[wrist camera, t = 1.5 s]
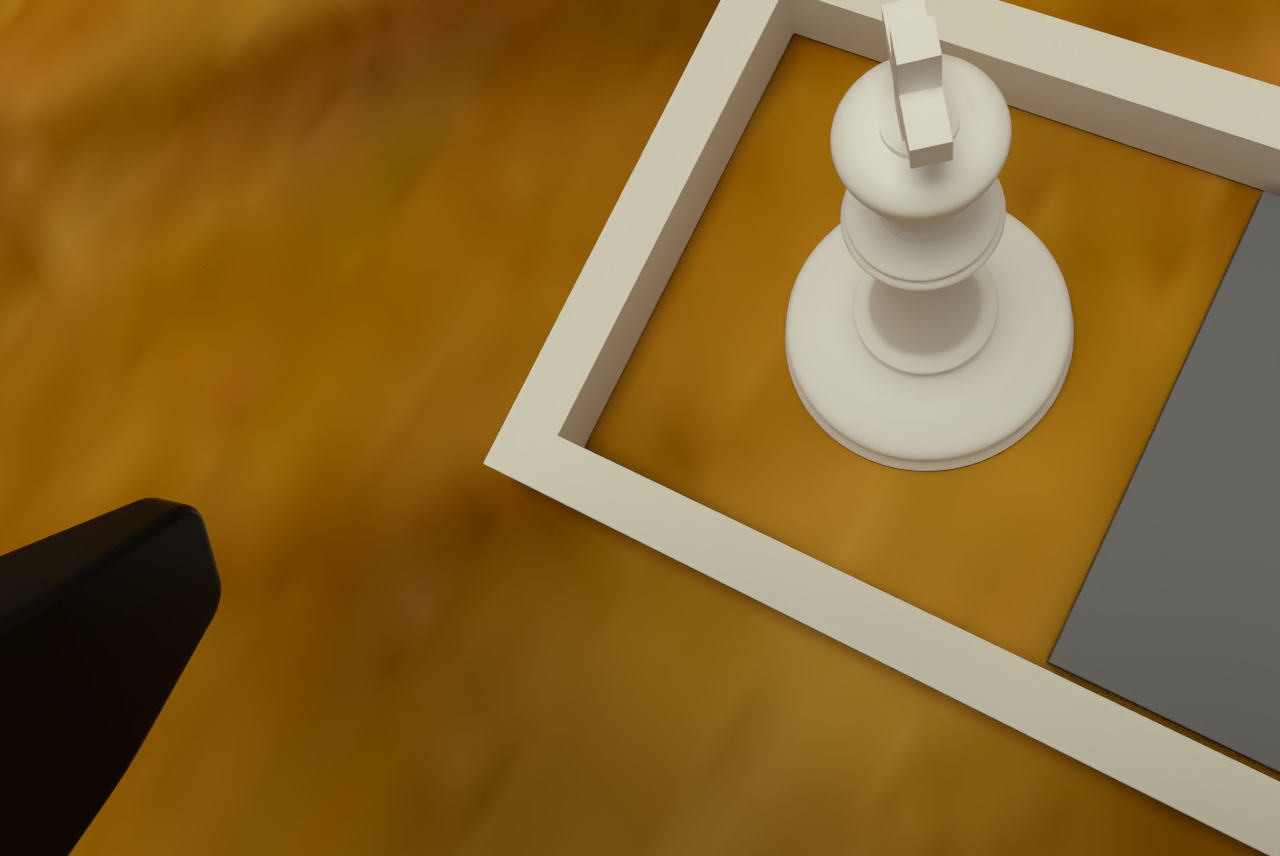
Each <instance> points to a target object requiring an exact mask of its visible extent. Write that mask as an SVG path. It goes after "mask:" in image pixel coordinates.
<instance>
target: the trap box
mask: <svg viewBox="0 0 1280 856" xmlns="http://www.w3.org/2000/svg"><path fill="white" fill-rule="evenodd" d="M897 1H901V0H721V1H720V3H719V5H718V7H717V9H716V11H715V13H714V15H713V17H712V18H711V20H710V22H709V24H708V26H707V28H706V30H705V32H704V34H703V36H702V38H701V40H700V42H699V44H698V46H697V48H696V50H695V52H694V54H693V56H692V57H691V59H690V61H689V63H688V65H687V67H686V69H685V71H684V73H683V75H682V77H681V79H680V81H679V83H678V85H677V87H676V89H675V91H674V93H673V95H672V96H671V98H670V100H669V102H668V104H667V106H666V108H665V110H664V112H663V114H662V116H661V118H660V120H659V122H658V124H657V126H656V128H655V130H654V132H653V133H652V135H651V137H650V139H649V141H648V143H647V145H646V147H645V149H644V151H643V153H642V155H641V157H640V159H639V161H638V163H637V165H636V167H635V169H634V171H633V172H632V174H631V176H630V178H629V180H628V182H627V184H626V186H625V188H624V190H623V192H622V194H621V196H620V198H619V200H618V202H617V204H616V206H615V208H614V210H613V211H612V213H611V215H610V217H609V219H608V221H607V223H606V225H605V227H604V229H603V231H602V233H601V235H600V237H599V239H598V241H597V243H596V245H595V247H594V249H593V250H592V252H591V254H590V256H589V258H588V260H587V262H586V264H585V266H584V268H583V270H582V272H581V274H580V276H579V278H578V280H577V282H576V284H575V286H574V288H573V289H572V291H571V293H570V295H569V297H568V299H567V301H566V303H565V305H564V307H563V309H562V311H561V313H560V315H559V317H558V319H557V321H556V323H555V325H554V326H553V328H552V330H551V332H550V334H549V336H548V338H547V340H546V342H545V344H544V346H543V348H542V350H541V352H540V354H539V356H538V358H537V360H536V362H535V364H534V365H533V367H532V369H531V371H530V373H529V375H528V377H527V379H526V381H525V383H524V385H523V387H522V389H521V391H520V393H519V395H518V397H517V399H516V401H515V403H514V404H513V406H512V408H511V410H510V412H509V414H508V416H507V418H506V420H505V422H504V424H503V426H502V428H501V430H500V432H499V434H498V436H497V438H496V440H495V442H494V443H493V445H492V447H491V449H490V451H489V453H488V455H487V457H486V459H485V461H484V464H485V465H487V466H489V467H491V468H493V469H495V470H497V471H499V472H501V473H503V474H505V475H507V476H508V477H510V478H512V479H514V480H516V481H518V482H520V483H522V484H524V485H526V486H528V487H530V488H532V489H534V490H536V491H538V492H540V493H542V494H544V495H546V496H548V497H550V498H552V499H554V500H556V501H558V502H560V503H562V504H564V505H566V506H568V507H570V508H572V509H574V510H576V511H579V512H581V513H583V514H585V515H587V516H589V517H591V518H593V519H595V520H597V521H599V522H601V523H603V524H605V525H607V526H609V527H611V528H613V529H615V530H617V531H619V532H621V533H623V534H625V535H627V536H629V537H631V538H633V539H635V540H637V541H639V542H641V543H643V544H645V545H647V546H649V547H651V548H653V549H655V550H657V551H659V552H661V553H663V554H665V555H667V556H669V557H671V558H673V559H675V560H677V561H679V562H681V563H683V564H685V565H687V566H689V567H691V568H693V569H695V570H697V571H699V572H701V573H703V574H705V575H707V576H709V577H711V578H713V579H715V580H717V581H719V582H721V583H723V584H725V585H727V586H729V587H731V588H733V589H735V590H737V591H739V592H741V593H743V594H745V595H747V596H749V597H751V598H753V599H755V600H757V601H759V602H761V603H763V604H765V605H767V606H769V607H771V608H773V609H775V610H777V611H779V612H781V613H783V614H785V615H787V616H789V617H791V618H793V619H795V620H797V621H799V622H801V623H803V624H805V625H807V626H809V627H811V628H813V629H815V630H817V631H819V632H821V633H823V634H825V635H827V636H829V637H831V638H833V639H835V640H837V641H839V642H841V643H843V644H845V645H847V646H849V647H851V648H853V649H855V650H857V651H859V652H861V653H863V654H865V655H867V656H869V657H871V658H873V659H875V660H877V661H879V662H881V663H883V664H885V665H887V666H889V667H891V668H893V669H895V670H897V671H899V672H901V673H903V674H905V675H907V676H909V677H911V678H913V679H915V680H917V681H919V682H921V683H923V684H925V685H927V686H929V687H931V688H933V689H935V690H937V691H939V692H941V693H943V694H945V695H947V696H949V697H951V698H953V699H955V700H957V701H959V702H961V703H963V704H965V705H967V706H969V707H971V708H973V709H975V710H977V711H979V712H981V713H983V714H985V715H987V716H989V717H991V718H993V719H995V720H997V721H999V722H1001V723H1003V724H1005V725H1007V726H1009V727H1011V728H1014V729H1016V730H1018V731H1020V732H1022V733H1024V734H1026V735H1028V736H1030V737H1032V738H1034V739H1036V740H1038V741H1040V742H1042V743H1044V744H1046V745H1048V746H1050V747H1052V748H1054V749H1056V750H1058V751H1060V752H1062V753H1064V754H1066V755H1068V756H1070V757H1072V758H1074V759H1076V760H1078V761H1080V762H1082V763H1084V764H1086V765H1088V766H1090V767H1092V768H1094V769H1096V770H1098V771H1100V772H1102V773H1104V774H1106V775H1108V776H1110V777H1112V778H1114V779H1116V780H1118V781H1120V782H1122V783H1124V784H1126V785H1128V786H1130V787H1132V788H1134V789H1136V790H1138V791H1140V792H1142V793H1144V794H1146V795H1148V796H1150V797H1152V798H1154V799H1156V800H1158V801H1160V802H1162V803H1164V804H1166V805H1168V806H1170V807H1172V808H1174V809H1176V810H1178V811H1180V812H1182V813H1184V814H1186V815H1188V816H1190V817H1192V818H1194V819H1196V820H1198V821H1200V822H1202V823H1204V824H1206V825H1208V826H1210V827H1212V828H1214V829H1216V830H1218V831H1220V832H1222V833H1224V834H1226V835H1228V836H1230V837H1232V838H1234V839H1236V840H1238V841H1240V842H1242V843H1244V844H1246V845H1248V846H1250V847H1252V848H1254V849H1256V850H1258V851H1260V852H1262V853H1264V854H1266V855H1268V856H1280V782H1279V781H1277V780H1275V779H1273V778H1271V777H1269V776H1267V775H1265V774H1263V773H1261V772H1259V771H1256V770H1254V769H1252V768H1250V767H1248V766H1246V765H1244V764H1242V763H1240V762H1238V761H1236V760H1233V759H1231V758H1229V757H1227V756H1225V755H1223V754H1221V753H1219V752H1217V751H1215V750H1213V749H1211V748H1208V747H1206V746H1204V745H1202V744H1200V743H1198V742H1196V741H1194V740H1192V739H1190V738H1188V737H1185V736H1183V735H1181V734H1179V733H1177V732H1175V731H1173V730H1171V729H1169V728H1167V727H1165V726H1163V725H1160V724H1158V723H1156V722H1154V721H1152V720H1150V719H1148V718H1146V717H1144V716H1142V715H1140V714H1137V713H1135V712H1133V711H1131V710H1129V709H1127V708H1125V707H1123V706H1121V705H1119V704H1117V703H1115V702H1112V701H1110V700H1108V699H1106V698H1104V697H1102V696H1100V695H1098V694H1096V693H1094V692H1092V691H1089V690H1087V689H1085V688H1083V687H1081V686H1079V685H1077V684H1075V683H1073V682H1071V681H1069V680H1067V679H1064V678H1062V677H1060V676H1058V675H1056V674H1054V673H1052V672H1050V671H1048V670H1046V669H1044V668H1042V667H1039V666H1037V665H1035V664H1033V663H1031V662H1029V661H1027V660H1025V659H1023V658H1021V657H1019V656H1016V655H1014V654H1012V653H1010V652H1008V651H1006V650H1004V649H1002V648H1000V647H998V646H996V645H994V644H991V643H989V642H987V641H985V640H983V639H981V638H979V637H977V636H975V635H973V634H971V633H968V632H966V631H964V630H962V629H960V628H958V627H956V626H954V625H952V624H950V623H948V622H946V621H943V620H941V619H939V618H937V617H935V616H933V615H931V614H929V613H927V612H925V611H923V610H920V609H918V608H916V607H914V606H912V605H910V604H908V603H906V602H904V601H902V600H900V599H898V598H895V597H893V596H891V595H889V594H887V593H885V592H883V591H881V590H879V589H877V588H875V587H873V586H870V585H868V584H866V583H864V582H862V581H860V580H858V579H856V578H854V577H852V576H850V575H847V574H845V573H843V572H841V571H839V570H837V569H835V568H833V567H831V566H829V565H827V564H825V563H822V562H820V561H818V560H816V559H814V558H812V557H810V556H808V555H806V554H804V553H802V552H799V551H797V550H795V549H793V548H791V547H789V546H787V545H785V544H783V543H781V542H779V541H777V540H774V539H772V538H770V537H768V536H766V535H764V534H762V533H760V532H758V531H756V530H754V529H751V528H749V527H747V526H745V525H743V524H741V523H739V522H737V521H735V520H733V519H731V518H729V517H726V516H724V515H722V514H720V513H718V512H716V511H714V510H712V509H710V508H708V507H706V506H703V505H701V504H699V503H697V502H695V501H693V500H691V499H689V498H687V497H685V496H683V495H681V494H678V493H676V492H674V491H672V490H670V489H668V488H666V487H664V486H662V485H660V484H658V483H656V482H653V481H651V480H649V479H647V478H645V477H643V476H641V475H639V474H637V473H635V472H633V471H630V470H628V469H626V468H624V467H622V466H620V465H618V464H616V463H614V462H612V461H610V460H608V459H605V458H603V457H601V456H599V455H597V454H595V453H593V452H591V451H589V450H587V449H585V448H584V447H585V445H586V443H587V441H588V439H589V437H590V435H591V433H592V431H593V429H594V427H595V425H596V423H597V421H598V419H599V417H600V415H601V413H602V411H603V409H604V407H605V405H606V403H607V401H608V399H609V397H610V395H611V393H612V391H613V390H614V388H615V386H616V384H617V382H618V380H619V378H620V376H621V374H622V372H623V370H624V368H625V366H626V364H627V362H628V360H629V358H630V356H631V354H632V352H633V350H634V348H635V346H636V344H637V342H638V340H639V338H640V336H641V334H642V332H643V330H644V328H645V326H646V324H647V322H648V320H649V318H650V316H651V314H652V312H653V310H654V308H655V306H656V304H657V302H658V300H659V298H660V296H661V295H662V293H663V291H664V289H665V287H666V285H667V283H668V281H669V279H670V277H671V275H672V273H673V271H674V269H675V267H676V265H677V263H678V261H679V259H680V257H681V255H682V253H683V251H684V249H685V247H686V245H687V243H688V241H689V239H690V237H691V235H692V233H693V231H694V229H695V227H696V225H697V223H698V221H699V219H700V217H701V215H702V213H703V211H704V209H705V207H706V205H707V203H708V201H709V199H710V198H711V196H712V194H713V192H714V190H715V188H716V186H717V184H718V182H719V180H720V178H721V176H722V174H723V172H724V170H725V168H726V166H727V164H728V162H729V160H730V158H731V156H732V154H733V152H734V150H735V148H736V146H737V144H738V142H739V140H740V138H741V136H742V134H743V132H744V130H745V128H746V126H747V124H748V122H749V120H750V118H751V116H752V114H753V112H754V110H755V108H756V106H757V104H758V102H759V101H760V99H761V97H762V95H763V93H764V91H765V89H766V87H767V85H768V83H769V81H770V79H771V77H772V75H773V73H774V71H775V69H776V67H777V65H778V63H779V61H780V59H781V57H782V55H783V53H784V51H785V49H786V47H787V45H788V43H789V41H790V39H791V37H792V35H793V33H795V34H798V35H801V36H804V37H807V38H810V39H813V40H816V41H819V42H822V43H825V44H828V45H831V46H834V47H837V48H840V49H843V50H846V51H849V52H852V53H855V54H858V55H861V56H864V57H867V58H870V59H873V60H876V61H879V62H882V63H883V62H885V61H887V60H889V55H888V50H887V45H886V40H885V35H884V29H883V20H882V8H881V5H884V4H888V3H893V2H897ZM924 1H925V6H926V11H927V16H928V17H930V16H934V18H935V23H936V28H937V33H938V38H939V43H940V47H941V52H942V54H946V55H951V56H954V57H957V58H960V59H963V60H965V61H967V62H969V63H971V64H973V65H974V66H976V67H977V68H979V69H980V70H982V71H983V72H984V73H985V74H986V75H987V76H989V77H990V78H991V80H992V81H993V82H994V83H995V84H996V86H997V87H998V88H999V90H1000V91H1001V93H1002V95H1003V97H1004V99H1005V101H1006V104H1007V105H1010V106H1013V107H1016V108H1019V109H1022V110H1025V111H1028V112H1031V113H1034V114H1037V115H1040V116H1043V117H1046V118H1049V119H1052V120H1055V121H1058V122H1061V123H1064V124H1067V125H1070V126H1073V127H1076V128H1079V129H1082V130H1085V131H1088V132H1091V133H1094V134H1097V135H1099V136H1102V137H1105V138H1108V139H1111V140H1114V141H1117V142H1120V143H1123V144H1126V145H1129V146H1132V147H1135V148H1138V149H1141V150H1144V151H1147V152H1150V153H1153V154H1156V155H1159V156H1162V157H1165V158H1168V159H1171V160H1174V161H1177V162H1180V163H1183V164H1186V165H1189V166H1192V167H1195V168H1198V169H1201V170H1204V171H1207V172H1210V173H1213V174H1216V175H1219V176H1222V177H1225V178H1228V179H1231V180H1234V181H1237V182H1240V183H1243V184H1246V185H1249V186H1252V187H1255V188H1258V189H1261V190H1264V192H1263V194H1262V195H1261V197H1260V198H1259V200H1258V202H1257V204H1256V206H1255V208H1254V211H1253V213H1252V215H1251V217H1250V219H1249V222H1248V224H1247V226H1246V228H1245V230H1244V232H1243V235H1242V237H1241V239H1240V241H1239V243H1238V246H1237V248H1236V250H1235V252H1234V254H1233V256H1232V259H1231V261H1230V263H1229V265H1228V267H1227V270H1226V272H1225V274H1224V276H1223V278H1222V280H1221V283H1220V285H1219V287H1218V289H1217V291H1216V294H1215V296H1214V298H1213V300H1212V302H1211V305H1210V307H1209V309H1208V311H1207V313H1206V315H1205V318H1204V320H1203V322H1202V324H1201V326H1200V329H1199V331H1198V333H1197V335H1196V337H1195V339H1194V342H1193V344H1192V346H1191V348H1190V350H1189V353H1188V355H1187V357H1186V359H1185V361H1184V363H1183V366H1182V368H1181V370H1180V372H1179V374H1178V377H1177V379H1176V381H1175V383H1174V385H1173V387H1172V390H1171V392H1170V394H1169V396H1168V398H1167V401H1166V403H1165V405H1164V407H1163V409H1162V411H1161V414H1160V416H1159V418H1158V420H1157V422H1156V425H1155V427H1154V429H1153V431H1152V433H1151V436H1150V438H1149V440H1148V442H1147V444H1146V446H1145V449H1144V451H1143V453H1142V455H1141V457H1140V460H1139V462H1138V464H1137V466H1136V468H1135V470H1134V473H1133V475H1132V477H1131V479H1130V481H1129V484H1128V486H1127V488H1126V490H1125V492H1124V494H1123V497H1122V499H1121V501H1120V503H1119V505H1118V508H1117V510H1116V512H1115V514H1114V516H1113V518H1112V521H1111V523H1110V525H1109V527H1108V529H1107V532H1106V534H1105V536H1104V538H1103V540H1102V543H1101V545H1100V547H1099V549H1098V551H1097V553H1096V556H1095V558H1094V560H1093V562H1092V564H1091V567H1090V569H1089V571H1088V573H1087V575H1086V577H1085V580H1084V582H1083V584H1082V586H1081V588H1080V591H1079V593H1078V595H1077V597H1076V599H1075V601H1074V604H1073V606H1072V608H1071V610H1070V612H1069V615H1068V617H1067V619H1066V621H1065V623H1064V625H1063V628H1062V630H1061V632H1060V634H1059V636H1058V639H1057V641H1056V643H1055V645H1054V647H1053V649H1052V652H1051V654H1050V656H1049V658H1048V660H1047V663H1049V664H1051V665H1053V666H1055V667H1058V668H1060V669H1062V670H1064V671H1066V672H1068V673H1070V674H1072V675H1074V676H1076V677H1079V678H1081V679H1083V680H1085V681H1087V682H1089V683H1091V684H1093V685H1095V686H1097V687H1099V688H1102V689H1104V690H1106V691H1108V692H1110V693H1112V694H1114V695H1116V696H1118V697H1120V698H1123V699H1125V700H1127V701H1129V702H1131V703H1133V704H1135V705H1137V706H1139V707H1141V708H1143V709H1146V710H1148V711H1150V712H1152V713H1154V714H1156V715H1158V716H1160V717H1162V718H1164V719H1167V720H1169V721H1171V722H1173V723H1175V724H1177V725H1179V726H1181V727H1183V728H1185V729H1187V730H1190V731H1192V732H1194V733H1196V734H1198V735H1200V736H1202V737H1204V738H1206V739H1208V740H1211V741H1213V742H1215V743H1217V744H1219V745H1221V746H1223V747H1225V748H1227V749H1229V750H1231V751H1234V752H1236V753H1238V754H1240V755H1242V756H1244V757H1246V758H1248V759H1250V760H1252V761H1255V762H1257V763H1259V764H1261V765H1263V766H1265V767H1267V768H1269V769H1271V770H1273V771H1275V772H1278V773H1280V87H1278V86H1275V85H1271V84H1268V83H1265V82H1262V81H1258V80H1255V79H1252V78H1249V77H1245V76H1242V75H1239V74H1236V73H1233V72H1229V71H1226V70H1223V69H1220V68H1216V67H1213V66H1210V65H1207V64H1203V63H1200V62H1197V61H1194V60H1190V59H1187V58H1184V57H1181V56H1177V55H1174V54H1171V53H1168V52H1164V51H1161V50H1158V49H1155V48H1151V47H1148V46H1145V45H1142V44H1139V43H1135V42H1132V41H1129V40H1126V39H1122V38H1119V37H1116V36H1113V35H1109V34H1106V33H1103V32H1100V31H1096V30H1093V29H1090V28H1087V27H1083V26H1080V25H1077V24H1074V23H1070V22H1067V21H1064V20H1061V19H1057V18H1054V17H1051V16H1048V15H1045V14H1041V13H1038V12H1035V11H1032V10H1028V9H1025V8H1022V7H1019V6H1015V5H1012V4H1009V3H1006V2H1002V1H999V0H924ZM1265 191H1267V192H1265ZM1268 192H1269V193H1268ZM1271 193H1272V194H1271ZM1274 194H1275V195H1274ZM1277 195H1278V196H1277Z"/></svg>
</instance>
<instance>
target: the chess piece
mask: <svg viewBox="0 0 1280 856" xmlns="http://www.w3.org/2000/svg"><path fill="white" fill-rule="evenodd" d="M881 8H882V20H883V29H884V35H885V40H886V45H887V50H888V55H889V60H887V61H885V62H883V63H881V64H879V65H877V66H876V67H874V68H872V69H871V70H869V71H868V72H867V73H865V74H864V75H863V76H862V77H860V78H859V79H858V80H857V81H856V82H855V83H854V84H853V85H852V87H851V88H850V89H849V90H848V91H847V93H846V94H845V96H844V97H843V99H842V101H841V102H840V104H839V106H838V109H837V111H836V113H835V116H834V120H833V123H832V129H831V153H832V158H833V162H834V165H835V168H836V171H837V173H838V175H839V177H840V179H841V181H842V182H843V184H844V185H845V187H846V188H847V190H846V192H845V195H844V198H843V202H842V207H841V224H839V225H838V226H837V227H836V228H834V229H833V230H832V231H831V232H830V233H829V234H828V235H827V236H826V237H825V238H824V239H823V240H822V241H821V242H820V243H819V244H818V245H817V247H816V248H815V249H814V250H813V252H812V253H811V254H810V256H809V257H808V259H807V260H806V262H805V264H804V265H803V267H802V269H801V271H800V273H799V275H798V277H797V279H796V282H795V284H794V287H793V290H792V293H791V296H790V300H789V305H788V310H787V318H786V330H785V347H786V357H787V363H788V367H789V371H790V375H791V378H792V381H793V384H794V386H795V389H796V391H797V393H798V395H799V397H800V399H801V401H802V403H803V404H804V406H805V407H806V409H807V411H808V412H809V413H810V415H811V416H812V417H813V419H814V420H815V421H816V422H817V423H818V424H819V426H820V427H821V428H822V429H823V430H824V431H825V432H826V433H827V434H829V435H830V436H831V437H832V438H833V439H834V440H836V441H837V442H838V443H840V444H841V445H843V446H844V447H846V448H847V449H849V450H850V451H852V452H854V453H856V454H858V455H860V456H862V457H864V458H866V459H868V460H871V461H873V462H876V463H879V464H882V465H886V466H889V467H894V468H899V469H905V470H913V471H939V470H948V469H954V468H959V467H964V466H967V465H971V464H974V463H977V462H980V461H983V460H985V459H987V458H990V457H992V456H994V455H996V454H998V453H1000V452H1002V451H1003V450H1005V449H1007V448H1008V447H1010V446H1011V445H1013V444H1014V443H1016V442H1017V441H1019V440H1020V439H1021V438H1022V437H1024V436H1025V435H1026V434H1027V433H1028V432H1029V431H1030V430H1031V429H1033V428H1034V427H1035V425H1036V424H1037V423H1038V422H1039V421H1040V420H1041V419H1042V418H1043V416H1044V415H1045V414H1046V413H1047V411H1048V410H1049V409H1050V407H1051V406H1052V404H1053V403H1054V401H1055V399H1056V397H1057V396H1058V394H1059V392H1060V390H1061V388H1062V386H1063V383H1064V381H1065V378H1066V375H1067V373H1068V369H1069V366H1070V362H1071V357H1072V351H1073V341H1074V326H1073V316H1072V310H1071V303H1070V298H1069V293H1068V290H1067V286H1066V283H1065V280H1064V278H1063V275H1062V273H1061V271H1060V269H1059V267H1058V265H1057V263H1056V261H1055V260H1054V258H1053V256H1052V255H1051V253H1050V252H1049V250H1048V249H1047V248H1046V246H1045V245H1044V244H1043V243H1042V242H1041V240H1040V239H1039V238H1038V237H1037V236H1036V235H1035V234H1034V233H1033V232H1032V231H1031V230H1030V229H1029V228H1028V227H1026V226H1025V225H1024V224H1023V223H1021V222H1020V221H1019V220H1017V219H1016V218H1014V217H1013V216H1011V215H1010V214H1008V213H1006V203H1005V197H1004V193H1003V189H1002V187H1001V184H1000V182H999V180H998V178H997V176H998V175H999V173H1000V171H1001V169H1002V168H1003V165H1004V163H1005V161H1006V158H1007V155H1008V152H1009V148H1010V142H1011V119H1010V114H1009V110H1008V106H1007V104H1006V101H1005V99H1004V97H1003V95H1002V93H1001V91H1000V90H999V88H998V87H997V86H996V84H995V83H994V82H993V81H992V80H991V78H990V77H989V76H987V75H986V74H985V73H984V72H983V71H982V70H980V69H979V68H977V67H976V66H974V65H973V64H971V63H969V62H967V61H965V60H963V59H960V58H957V57H954V56H951V55H946V54H942V52H941V47H940V43H939V38H938V33H937V28H936V23H935V18H934V16H930V17H928V16H927V11H926V6H925V1H924V0H901V1H897V2H893V3H888V4H884V5H881Z"/></svg>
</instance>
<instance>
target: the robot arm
mask: <svg viewBox="0 0 1280 856" xmlns="http://www.w3.org/2000/svg"><path fill="white" fill-rule="evenodd" d="M220 596H221V582H220V577H219V574H218V570H217V566H216V563H215V559H214V556H213V552H212V548H211V545H210V541H209V537H208V534H207V530H206V527H205V523H204V520H203V518H202V516H201V514H200V513H199V512H198V511H197V510H196V509H195V508H194V507H192V506H190V505H187V504H182V503H177V502H173V501H168V500H164V499H159V498H144V499H141V500H138V501H136V502H133V503H131V504H128V505H126V506H123V507H121V508H118V509H116V510H113V511H111V512H108V513H106V514H103V515H101V516H98V517H96V518H93V519H91V520H89V521H86V522H84V523H81V524H79V525H76V526H74V527H71V528H69V529H66V530H64V531H61V532H59V533H56V534H54V535H51V536H49V537H46V538H44V539H42V540H39V541H37V542H34V543H32V544H29V545H27V546H24V547H22V548H19V549H17V550H14V551H12V552H9V553H7V554H4V555H2V556H0V856H69V854H70V853H71V851H72V850H73V848H74V847H75V845H76V844H77V843H78V841H79V840H80V838H81V837H82V835H83V834H84V833H85V831H86V830H87V828H88V827H89V825H90V824H91V823H92V821H93V820H94V818H95V817H96V815H97V814H98V813H99V811H100V810H101V808H102V807H103V805H104V804H105V802H106V801H107V800H108V798H109V797H110V795H111V794H112V792H113V791H114V789H115V788H116V786H117V785H118V783H119V782H120V780H121V778H122V777H123V775H124V774H125V772H126V771H127V769H128V767H129V766H130V764H131V762H132V761H133V759H134V757H135V756H136V754H137V752H138V751H139V749H140V747H141V746H142V744H143V742H144V740H145V739H146V737H147V735H148V733H149V731H150V730H151V728H152V726H153V724H154V723H155V721H156V719H157V717H158V715H159V714H160V712H161V710H162V708H163V706H164V705H165V703H166V701H167V699H168V698H169V696H170V694H171V692H172V690H173V689H174V687H175V685H176V683H177V681H178V680H179V678H180V676H181V674H182V673H183V671H184V669H185V667H186V665H187V664H188V662H189V660H190V658H191V656H192V655H193V653H194V651H195V649H196V648H197V646H198V644H199V642H200V640H201V639H202V637H203V635H204V633H205V631H206V630H207V628H208V626H209V624H210V623H211V621H212V619H213V617H214V615H215V613H216V611H217V608H218V605H219V601H220Z"/></svg>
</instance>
